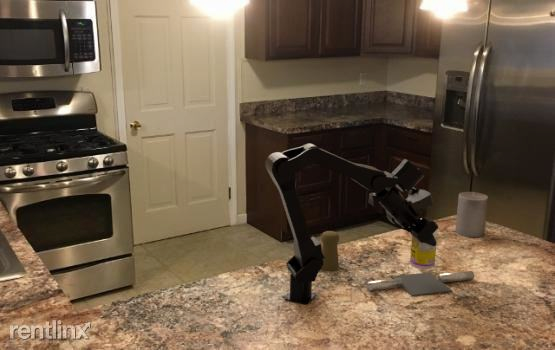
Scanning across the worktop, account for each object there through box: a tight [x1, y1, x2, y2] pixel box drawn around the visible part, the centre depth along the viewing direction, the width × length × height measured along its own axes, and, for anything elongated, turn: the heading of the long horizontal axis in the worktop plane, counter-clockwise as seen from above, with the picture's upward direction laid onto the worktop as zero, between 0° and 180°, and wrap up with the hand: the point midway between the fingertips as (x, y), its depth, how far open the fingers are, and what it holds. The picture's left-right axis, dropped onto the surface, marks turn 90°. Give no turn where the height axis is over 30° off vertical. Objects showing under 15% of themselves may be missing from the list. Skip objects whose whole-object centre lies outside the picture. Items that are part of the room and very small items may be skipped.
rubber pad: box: [391, 272, 453, 297], centre depth 155 cm, size 12×12×1 cm
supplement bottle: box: [409, 217, 438, 270], centre depth 152 cm, size 7×7×13 cm
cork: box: [320, 230, 340, 273], centre depth 164 cm, size 6×6×11 cm
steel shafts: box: [365, 270, 475, 291], centre depth 155 cm, size 32×2×2 cm, turn 105°
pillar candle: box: [454, 191, 489, 238], centre depth 195 cm, size 10×10×15 cm
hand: (428, 240), depth 152 cm, fingers closed on supplement bottle, 7 cm apart
